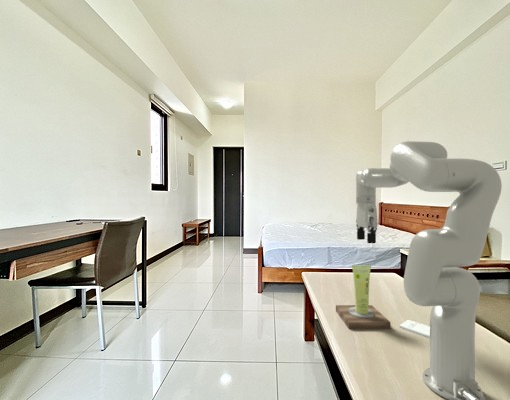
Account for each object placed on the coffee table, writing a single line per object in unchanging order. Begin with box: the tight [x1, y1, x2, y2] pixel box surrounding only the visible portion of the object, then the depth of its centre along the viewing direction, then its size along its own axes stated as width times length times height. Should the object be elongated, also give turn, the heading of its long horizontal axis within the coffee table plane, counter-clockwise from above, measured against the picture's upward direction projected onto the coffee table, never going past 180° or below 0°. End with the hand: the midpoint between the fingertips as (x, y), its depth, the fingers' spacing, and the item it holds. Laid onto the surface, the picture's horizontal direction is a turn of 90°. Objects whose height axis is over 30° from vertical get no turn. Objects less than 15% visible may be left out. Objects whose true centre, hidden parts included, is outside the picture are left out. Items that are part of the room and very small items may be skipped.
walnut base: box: [335, 304, 391, 330], centre depth 108 cm, size 16×16×3 cm
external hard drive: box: [399, 319, 430, 339], centre depth 98 cm, size 2×8×12 cm
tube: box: [351, 264, 372, 314], centre depth 107 cm, size 6×5×20 cm
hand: (365, 241), depth 109 cm, fingers open, 9 cm apart
